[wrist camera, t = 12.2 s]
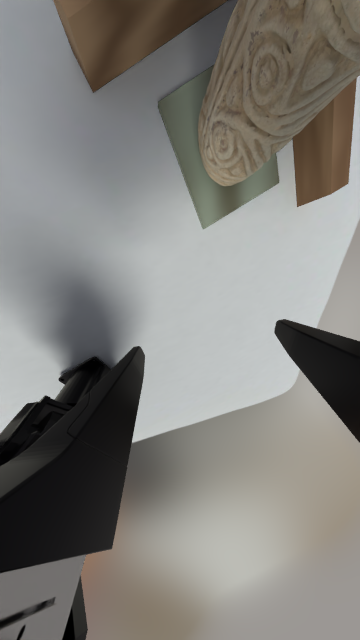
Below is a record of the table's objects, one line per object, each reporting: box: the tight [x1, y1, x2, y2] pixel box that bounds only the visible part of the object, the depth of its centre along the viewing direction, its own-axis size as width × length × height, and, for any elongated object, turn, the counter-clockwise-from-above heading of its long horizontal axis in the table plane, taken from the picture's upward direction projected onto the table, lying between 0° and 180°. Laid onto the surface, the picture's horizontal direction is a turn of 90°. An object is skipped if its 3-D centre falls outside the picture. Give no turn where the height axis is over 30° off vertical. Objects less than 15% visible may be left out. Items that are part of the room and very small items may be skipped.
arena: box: [53, 0, 357, 229], centre depth 12 cm, size 19×18×4 cm
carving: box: [198, 0, 360, 186], centre depth 8 cm, size 6×8×12 cm
